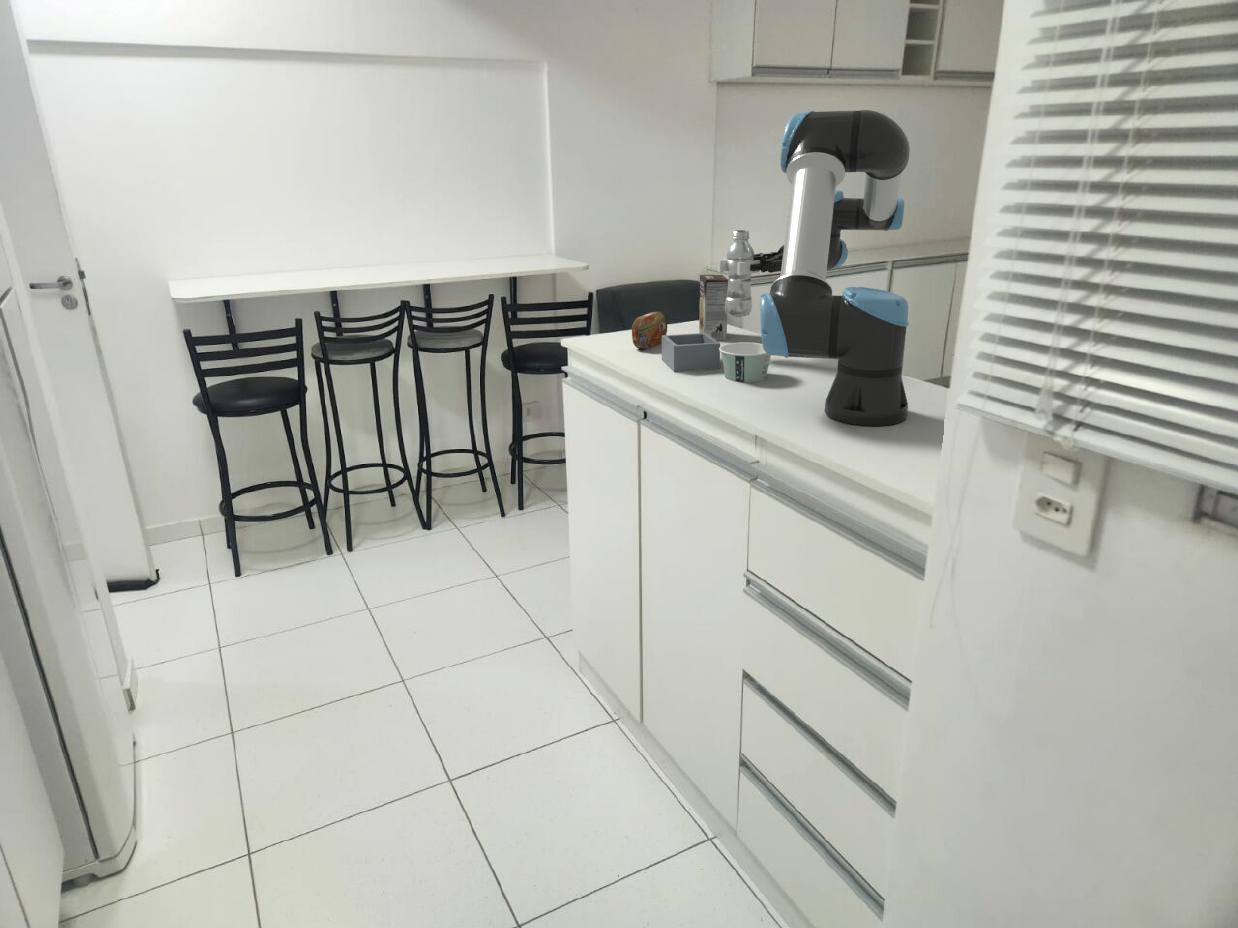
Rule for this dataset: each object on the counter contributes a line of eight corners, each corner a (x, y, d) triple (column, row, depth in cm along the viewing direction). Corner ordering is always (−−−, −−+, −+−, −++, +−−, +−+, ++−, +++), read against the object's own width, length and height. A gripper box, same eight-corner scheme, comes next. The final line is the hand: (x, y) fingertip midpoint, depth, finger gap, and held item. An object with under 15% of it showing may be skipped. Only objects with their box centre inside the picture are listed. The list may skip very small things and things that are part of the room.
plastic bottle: (718, 317, 194) (720, 231, 187) (737, 313, 198) (739, 229, 191) (739, 320, 190) (742, 233, 182) (757, 316, 194) (761, 230, 187)
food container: (771, 384, 174) (773, 355, 171) (716, 383, 176) (716, 353, 174) (772, 370, 185) (774, 342, 182) (720, 369, 187) (721, 341, 185)
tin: (640, 352, 204) (640, 319, 201) (629, 351, 206) (629, 318, 203) (668, 340, 216) (668, 309, 213) (658, 339, 218) (658, 308, 215)
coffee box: (698, 333, 224) (699, 274, 218) (721, 332, 224) (722, 274, 218) (703, 340, 215) (704, 279, 210) (727, 339, 216) (728, 278, 210)
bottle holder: (719, 368, 187) (720, 343, 185) (673, 371, 185) (674, 346, 183) (705, 356, 198) (705, 332, 196) (661, 359, 196) (661, 335, 194)
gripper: (825, 277, 194) (756, 288, 182) (769, 270, 209) (701, 279, 196) (827, 246, 191) (758, 254, 179) (770, 240, 206) (702, 247, 194)
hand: (728, 267), depth 188 cm, fingers closed on plastic bottle, 6 cm apart
